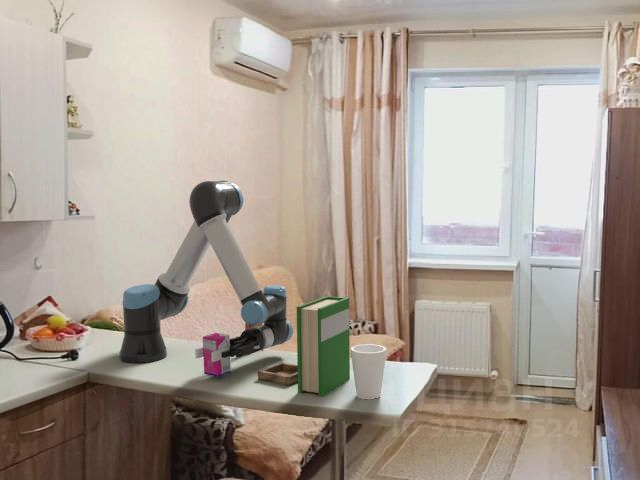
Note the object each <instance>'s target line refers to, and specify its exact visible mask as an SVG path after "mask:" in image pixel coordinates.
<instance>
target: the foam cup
mask: <svg viewBox="0 0 640 480" xmlns="http://www.w3.org/2000/svg"><path fill="white" fill-rule="evenodd" d="M386 358H387V348H386V347H385V346H383V345H381V344H380V345H378V344H373V343H371V344H370V343H368V344H367V343H364V344H363V343H362V344H356V345H354V346H351V347H350V359H351V363H352V370H353V378H354V385H355V386H354V387H355V393H356V397H357V396H358V397H359V398H358V397H357V398H358V399H360V398H361V400H364V399H373V398H377V397H379V396H380V397H381V395H382V387H383V382H384V374H385V373H384V371H385V365H386Z"/></svg>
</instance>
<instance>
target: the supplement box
mask: <svg viewBox="0 0 640 480" xmlns="http://www.w3.org/2000/svg"><path fill="white" fill-rule="evenodd" d="M230 337H231V335H230V334H227V333H226V334H225V333H220V332H214V333H211V334H207V335H204V336H202V347H203V354H204V357H203V373H204V375H208V376H210V377H211V376H212V377H215V378H220V377H222V376H225V375H228V374H231V372H232V369H231V368H232V367H231V366H232V365H231V357H230V356H229V357H227V358H224V359H221V360H218V361H215V362H212V356H211V352H214V351H218V350H221V349H224V348H229V350H230V339H231V338H230Z"/></svg>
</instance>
